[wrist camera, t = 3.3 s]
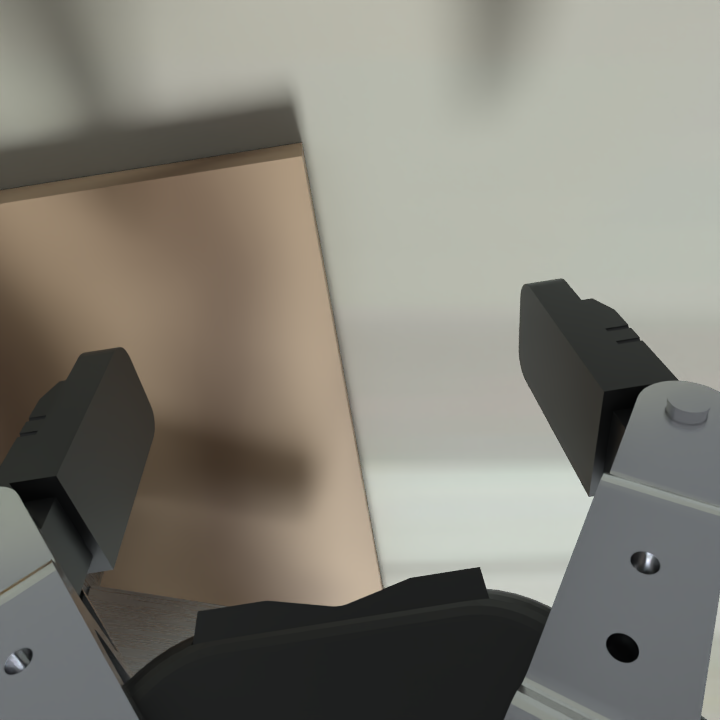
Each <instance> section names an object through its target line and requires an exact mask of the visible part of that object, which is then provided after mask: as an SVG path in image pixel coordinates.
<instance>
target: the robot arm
mask: <svg viewBox="0 0 720 720" xmlns="http://www.w3.org/2000/svg"><path fill="white" fill-rule="evenodd" d="M519 359H520V365H521V369H522V373H523V376H524V378H525V380H526V382H527V384H528V386H529V387H530V389H531V391H532V393H533V395H534V397H535V399H536V400H537V402H538V404H539V406H540V408H541V410H542V411H543V413H544V415H545V417H546V419H547V421H548V422H549V424H550V426H551V428H552V430H553V432H554V434H555V435H556V437H557V439H558V441H559V443H560V445H561V446H562V448H563V450H564V452H565V454H566V456H567V457H568V459H569V461H570V463H571V465H572V467H573V468H574V470H575V472H576V474H577V476H578V478H579V480H580V481H581V483H582V485H583V487H584V489H585V491H586V492H587V494H588V496H589V497H591V496H594V498H593V501H592V503H591V506H590V509H589V511H588V514H587V517H586V519H585V522H584V525H583V527H582V530H581V532H580V535H579V538H578V540H577V543H576V546H575V548H574V551H573V553H572V556H571V559H570V561H569V564H568V567H567V569H566V572H565V574H564V577H563V580H562V582H561V585H560V588H559V590H558V593H557V596H556V598H555V601H554V603H553V606H552V608H551V607H549V606H547V605H545V604H542V603H540V602H538V601H536V600H533V599H531V598H527V597H524V596H521V595H518V594H515V593H510V592H505V591H500V590H492V589H486V586H485V583H484V579H483V576H482V573H481V569H480V567H477V568H471V569H464V570H458V571H452V572H445V573H439V574H432V575H426V576H420V577H413V578H409V579H407V580H404V581H402V582H399V583H397V584H395V585H392V586H390V587H387V588H385V589H382V590H380V591H378V592H375V593H373V594H370V595H368V596H365V597H363V598H361V599H358V600H356V601H353V602H351V603H348V604H345V605H342V606H323V605H312V604H301V603H290V602H279V601H260V602H254V603H248V604H241V605H235V606H229V607H222V608H216V609H209V610H203V611H198V613H197V619H196V626H195V632H194V636H192V637H190V638H187V639H185V640H183V641H182V642H180V643H178V644H176V645H174V646H172V647H170V648H169V649H167V650H166V651H164V652H163V653H161V654H160V655H158V656H157V657H155V658H154V659H153V660H151V661H150V662H149V663H148V664H146V665H145V666H144V667H143V668H141V669H140V670H139V671H138V672H137V673H136V674H135V675H134V674H133V673H132V671H131V670H130V668H129V666H128V665H127V663H126V661H125V660H124V658H123V656H122V654H121V653H120V651H119V649H118V648H117V646H116V644H115V642H114V641H113V639H112V637H111V636H110V634H109V632H108V630H107V629H106V627H105V625H104V623H103V622H102V620H101V618H100V617H99V615H98V613H97V611H96V610H95V608H94V606H93V605H92V603H91V601H90V599H89V598H88V596H87V595H86V593H85V592H84V590H83V589H82V587H83V584H84V581H85V579H86V576H87V574H89V573H95V572H102V571H108V570H114V567H115V563H116V560H117V557H118V553H119V550H120V547H121V543H122V540H123V537H124V534H125V530H126V527H127V524H128V520H129V517H130V514H131V510H132V507H133V504H134V500H135V497H136V494H137V491H138V487H139V484H140V481H141V477H142V474H143V471H144V467H145V464H146V461H147V457H148V454H149V451H150V448H151V444H152V441H153V438H154V432H155V421H154V414H153V410H152V407H151V404H150V402H149V400H148V398H147V395H146V393H145V391H144V388H143V386H142V384H141V381H140V379H139V377H138V375H137V372H136V370H135V368H134V365H133V363H132V361H131V358H130V356H129V354H128V353H127V351H126V350H125V349H124V348H122V347H116V348H110V349H104V350H97V351H91V352H84V353H82V354H81V355H80V356H79V357H78V359H77V361H76V363H75V365H74V366H73V368H72V370H71V372H70V374H69V375H68V377H67V379H66V380H64V381H59V382H58V383H57V384H56V385H55V386H54V387H53V388H51V389H50V390H49V391H48V392H47V393H46V394H45V395H44V396H43V397H41V398H40V399H39V401H38V403H37V404H36V406H35V408H34V409H33V411H32V413H31V414H30V416H29V421H28V422H26V423H25V425H24V426H23V428H22V430H21V431H20V433H19V434H20V437H17V438H16V440H15V442H14V443H13V445H12V447H11V448H10V450H9V452H8V454H7V455H6V457H5V459H4V460H3V462H2V464H1V465H0V720H707V719H705V718H704V717H702V716H701V712H702V706H703V699H704V693H705V686H706V680H707V673H708V667H709V660H710V654H711V647H712V641H713V634H714V628H715V621H716V615H717V608H718V602H719V595H720V392H719V391H717V390H714V389H712V388H710V387H707V386H704V385H701V384H697V383H693V382H687V381H679V380H678V379H677V378H676V377H675V376H674V375H673V374H672V372H671V371H670V370H669V369H668V368H667V367H666V366H665V365H664V364H663V363H662V361H661V360H660V359H659V358H658V357H657V356H656V355H655V354H654V353H653V352H652V350H651V349H650V348H649V347H648V346H647V345H646V344H645V343H644V342H643V341H640V337H639V336H638V335H637V334H636V333H635V332H634V331H633V330H632V328H629V327H628V324H627V323H626V322H625V321H624V320H623V319H622V317H621V316H620V315H619V314H618V313H617V312H616V311H615V310H614V309H612V308H610V307H608V306H606V305H604V304H602V303H600V302H598V301H596V300H594V299H586V300H581V299H580V298H579V297H578V295H577V294H576V293H575V292H574V291H573V289H572V288H571V287H570V286H569V285H568V283H567V282H566V281H565V280H564V279H555V280H548V281H542V282H536V283H529V284H524V285H523V287H522V290H521V298H520V327H519Z"/></svg>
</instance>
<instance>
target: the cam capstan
mask: <svg viewBox="0 0 720 720" xmlns="http://www.w3.org/2000/svg"><path fill="white" fill-rule="evenodd" d="M103 574H104V571H102V572H95V573H89V574H87V576H86V579H85V581H84V584H83V587H82V589H83V590H84V592H85V593H86V595H87V596H88V598H89V599H90V601H91V603H92V605H93V606H94V608H95V610H96V611H97V613H98V615H99V617H100V618H101V620H102V622H103V623H104V625H105V627H106V629H107V630H108V632H109V634H110V636H111V637H112V639H113V641H114V642H115V644H116V646H117V648H118V649H119V651H120V653H121V654H122V656H123V658H124V660H125V661H126V663H127V665H128V666H129V668H130V670H131V671H132V673H133V674H134V675H135V674H136V673H137V672H138V671H139V670H140V669H141V668H143V667H144V666H145V665H146V664H148V663H149V662H150V661H151V660H153V659H154V658H155V657H157V656H158V655H160V654H161V653H163V652H164V651H166V650H167V649H169V648H170V647H172V646H174V645H176V644H178V643H180V642H182V641H183V640H185V639H187V638H190V637H192V636H194V632H195V626H196V619H197V613H198V611H203V610H209V609H216V608H222V607H229V606H224V605H218V604H211V603H205V602H198V601H192V600H185V599H179V598H172V597H166V596H159V595H153V594H146V593H140V592H133V591H127V590H120V589H114V588H107V587H100V584H101V581H102V578H103Z"/></svg>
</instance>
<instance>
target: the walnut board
mask: <svg viewBox="0 0 720 720" xmlns="http://www.w3.org/2000/svg"><path fill="white" fill-rule="evenodd" d="M116 347H122V348H124V349H125V350H126V351H127V353H128V354H129V356H130V358H131V361H132V363H133V365H134V368H135V370H136V372H137V375H138V377H139V379H140V381H141V384H142V386H143V388H144V391H145V393H146V395H147V398H148V400H149V402H150V404H151V407H152V410H153V414H154V421H155V432H154V438H153V441H152V444H151V448H150V451H149V454H148V457H147V461H146V464H145V467H144V471H143V474H142V477H141V481H140V484H139V487H138V491H137V494H136V497H135V500H134V504H133V507H132V510H131V514H130V517H129V520H128V524H127V527H126V530H125V534H124V537H123V540H122V543H121V547H120V550H119V553H118V557H117V560H116V563H115V567H114V570H108V571H104V574H103V578H102V581H101V584H100V587H107V588H114V589H120V590H127V591H133V592H140V593H146V594H153V595H159V596H166V597H172V598H179V599H185V600H192V601H198V602H205V603H211V604H218V605H224V606H235V605H241V604H248V603H254V602H260V601H279V602H290V603H301V604H312V605H323V606H342V605H345V604H348V603H351V602H353V601H356V600H358V599H361V598H363V597H365V596H368V595H370V594H373V593H375V592H378V591H380V590H382V589H383V586H382V581H381V575H380V570H379V564H378V559H377V553H376V548H375V542H374V537H373V531H372V526H371V520H370V515H369V509H368V504H367V498H366V493H365V487H364V482H363V476H362V471H361V465H360V460H359V454H358V448H357V443H356V437H355V432H354V426H353V421H352V415H351V410H350V404H349V399H348V393H347V388H346V382H345V377H344V371H343V366H342V360H341V355H340V349H339V344H338V338H337V333H336V327H335V322H334V316H333V311H332V305H331V300H330V294H329V289H328V283H327V278H326V272H325V267H324V261H323V256H322V250H321V245H320V239H319V234H318V228H317V223H316V217H315V212H314V206H313V201H312V195H311V190H310V184H309V179H308V173H307V168H306V162H305V157H304V151H303V146H302V143H296V144H290V145H283V146H277V147H271V148H265V149H258V150H252V151H246V152H239V153H233V154H227V155H220V156H214V157H208V158H201V159H195V160H189V161H182V162H176V163H170V164H164V165H157V166H151V167H145V168H138V169H132V170H126V171H119V172H113V173H107V174H100V175H94V176H88V177H81V178H75V179H69V180H62V181H56V182H50V183H44V184H37V185H31V186H25V187H18V188H12V189H6V190H0V465H1V464H2V462H3V460H4V459H5V457H6V455H7V454H8V452H9V450H10V448H11V447H12V445H13V443H14V442H15V440H16V438H17V437H20V434H19V433H20V431H21V430H22V428H23V426H24V425H25V423H26V422H28V421H29V416H30V414H31V413H32V411H33V409H34V408H35V406H36V404H37V403H38V401H39V399H40V398H41V397H43V396H44V395H45V394H46V393H47V392H48V391H49V390H50V389H51V388H53V387H54V386H55V385H56V384H57V383H58V382H59V381H64V380H66V379H67V377H68V375H69V374H70V372H71V370H72V368H73V366H74V365H75V363H76V361H77V359H78V357H79V356H80V355H81V354H82V353H84V352H91V351H97V350H104V349H110V348H116Z"/></svg>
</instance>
